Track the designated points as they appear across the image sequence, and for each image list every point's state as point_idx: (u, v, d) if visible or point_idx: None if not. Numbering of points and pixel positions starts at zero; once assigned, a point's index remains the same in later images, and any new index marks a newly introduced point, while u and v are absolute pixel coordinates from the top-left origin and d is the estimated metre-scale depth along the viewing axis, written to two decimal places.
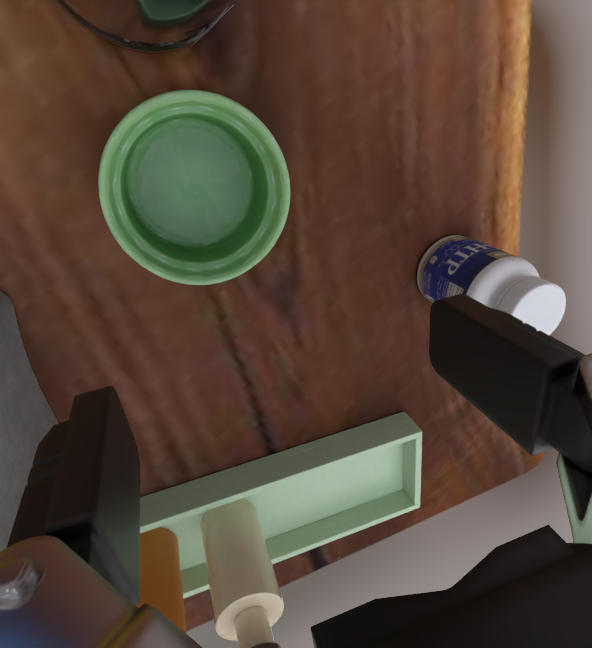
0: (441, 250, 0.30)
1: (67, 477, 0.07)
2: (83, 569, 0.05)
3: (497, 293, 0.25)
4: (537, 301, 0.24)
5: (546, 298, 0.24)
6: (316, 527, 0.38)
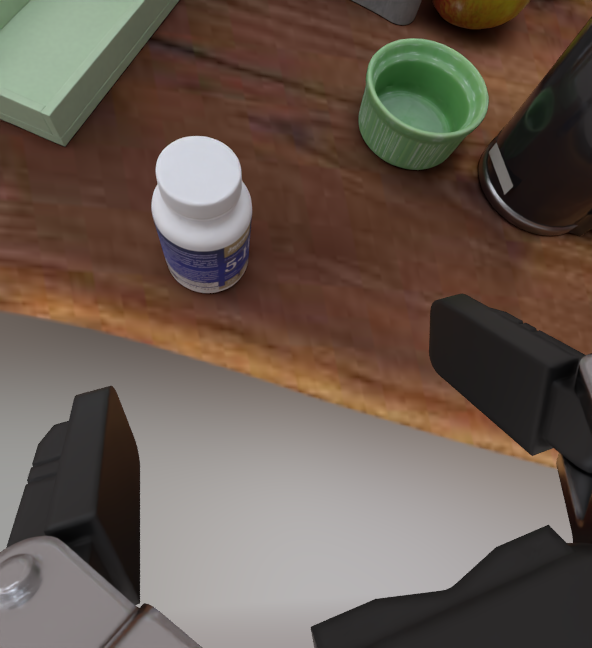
0: None
1: (67, 477, 0.07)
2: (83, 569, 0.05)
3: None
4: (220, 173, 0.20)
5: (215, 183, 0.20)
6: None
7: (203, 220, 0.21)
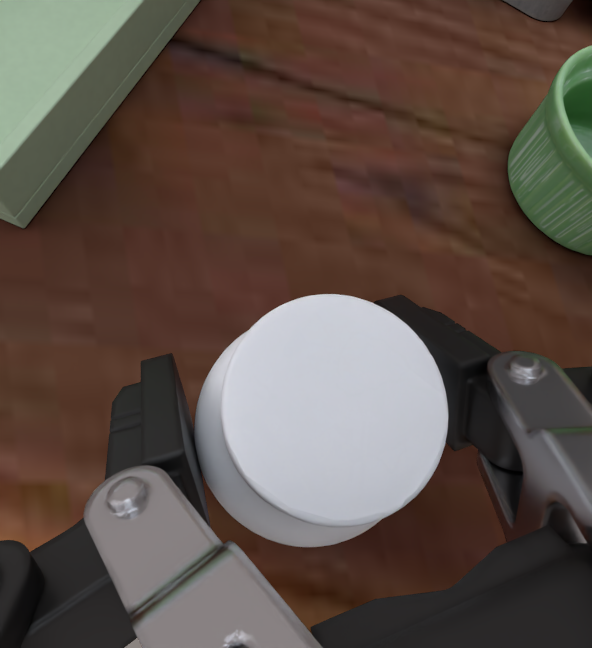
0: None
1: (151, 423, 0.08)
2: (181, 501, 0.06)
3: None
4: (397, 410, 0.07)
5: (388, 445, 0.07)
6: None
7: None
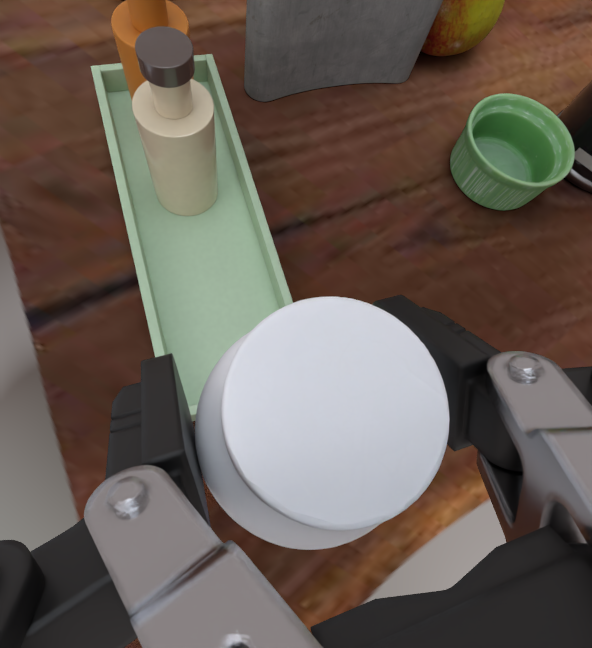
0: None
1: (151, 423, 0.08)
2: (182, 501, 0.06)
3: None
4: (398, 412, 0.07)
5: (390, 448, 0.07)
6: (150, 281, 0.29)
7: None
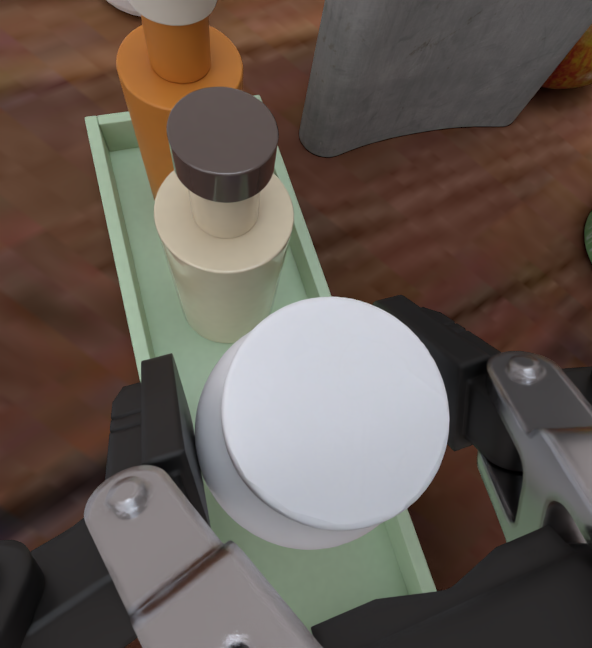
0: None
1: (152, 423, 0.08)
2: (182, 500, 0.06)
3: None
4: (398, 413, 0.07)
5: (390, 448, 0.07)
6: None
7: None
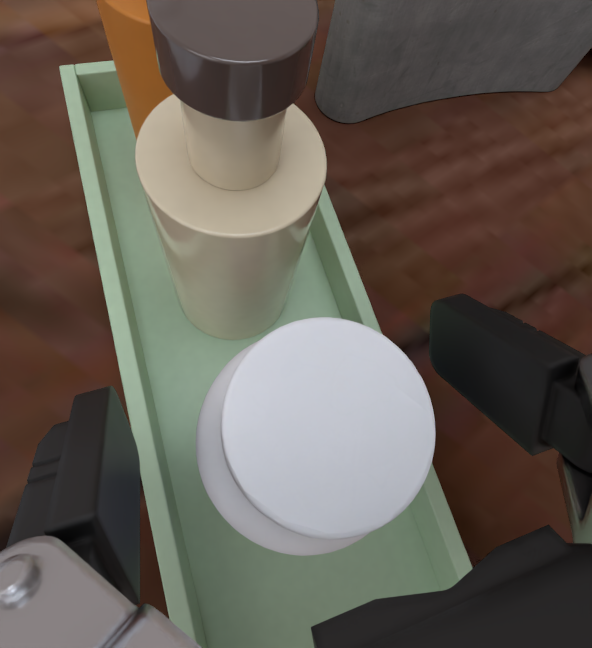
0: None
1: (67, 477, 0.07)
2: (83, 569, 0.05)
3: None
4: (387, 427, 0.08)
5: (379, 462, 0.08)
6: (171, 492, 0.14)
7: None
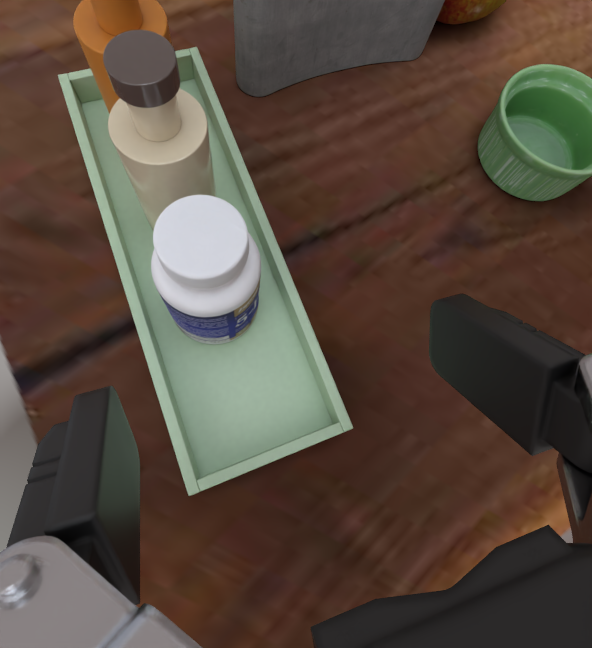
0: None
1: (67, 477, 0.07)
2: (83, 569, 0.05)
3: None
4: (225, 237, 0.18)
5: (220, 250, 0.18)
6: (151, 326, 0.25)
7: (210, 289, 0.19)
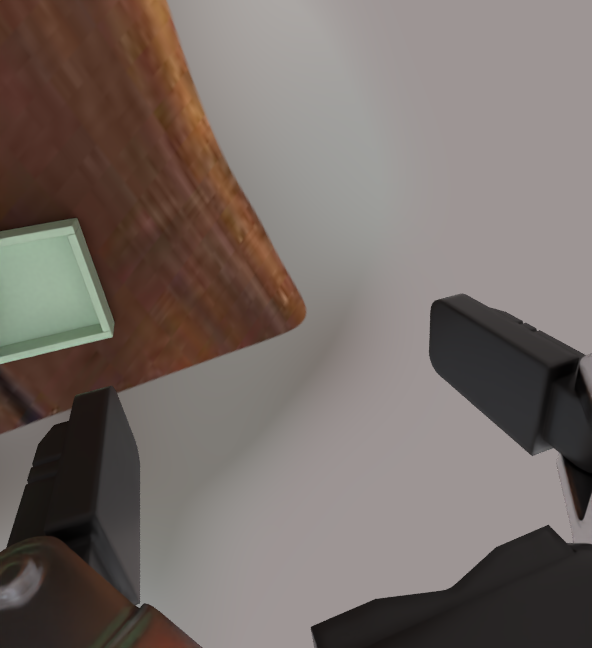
0: None
1: (67, 477, 0.07)
2: (83, 569, 0.05)
3: None
4: None
5: None
6: None
7: None
